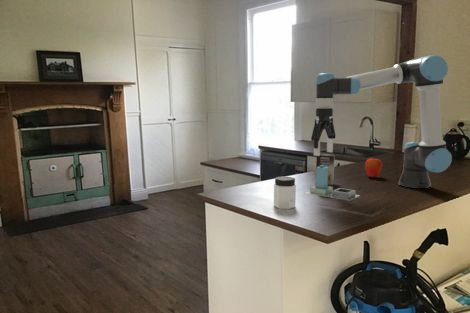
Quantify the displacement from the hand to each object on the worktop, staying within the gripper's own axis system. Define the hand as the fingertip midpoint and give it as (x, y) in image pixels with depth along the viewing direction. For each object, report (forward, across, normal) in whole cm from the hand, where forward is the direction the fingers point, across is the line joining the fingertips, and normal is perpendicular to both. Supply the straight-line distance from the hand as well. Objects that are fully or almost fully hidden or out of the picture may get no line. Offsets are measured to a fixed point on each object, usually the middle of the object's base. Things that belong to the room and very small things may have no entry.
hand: (323, 153), depth 178 cm
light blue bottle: (+18, 0, 0) cm, 18 cm away
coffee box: (+20, -21, -9) cm, 30 cm away
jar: (+19, +29, -3) cm, 35 cm away
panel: (+19, 0, +5) cm, 20 cm away
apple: (+20, -57, +4) cm, 60 cm away
